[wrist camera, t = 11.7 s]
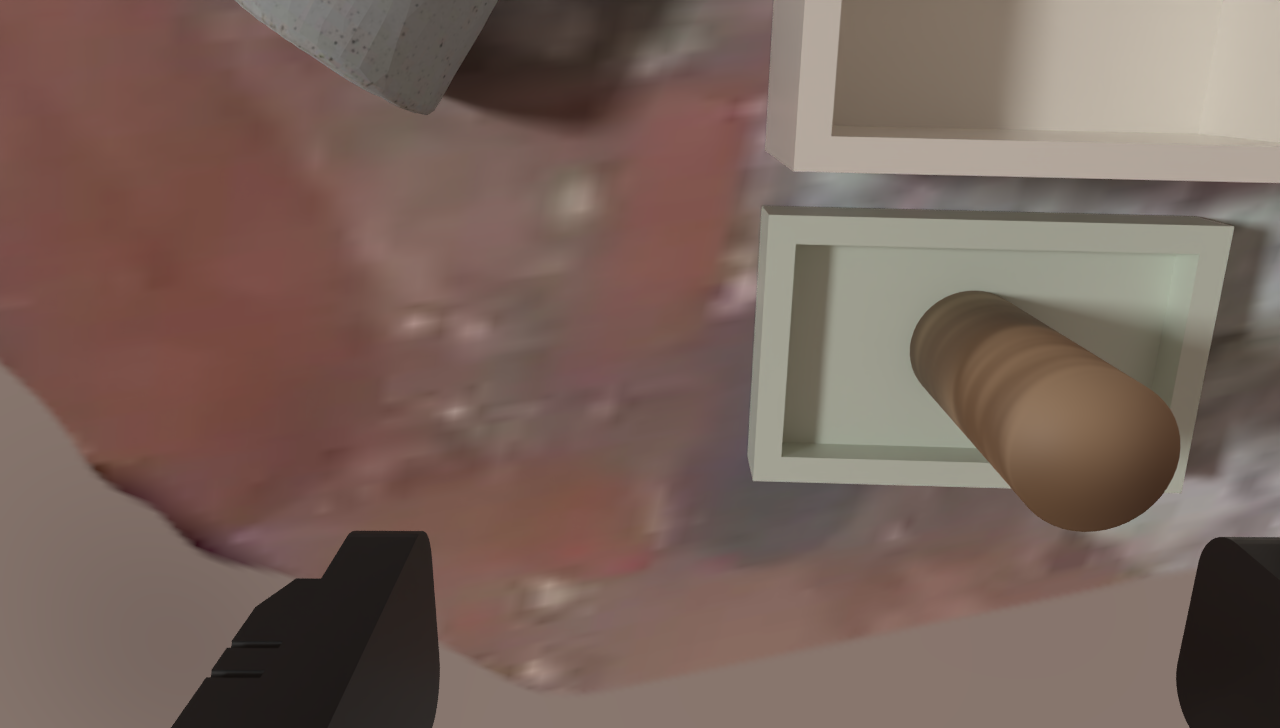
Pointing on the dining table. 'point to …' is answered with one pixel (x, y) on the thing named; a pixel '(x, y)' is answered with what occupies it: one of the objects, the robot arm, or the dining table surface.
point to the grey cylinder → (382, 41)
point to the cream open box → (1028, 88)
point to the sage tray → (928, 272)
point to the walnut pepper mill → (1046, 412)
